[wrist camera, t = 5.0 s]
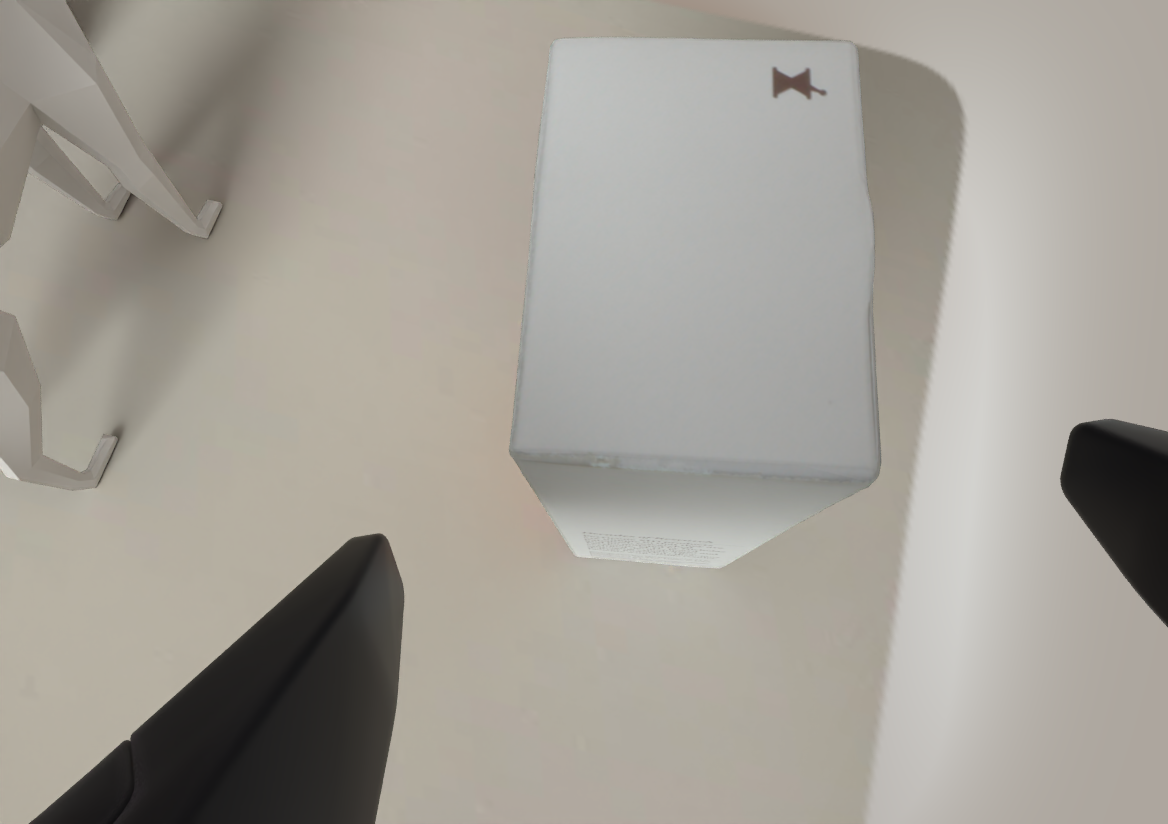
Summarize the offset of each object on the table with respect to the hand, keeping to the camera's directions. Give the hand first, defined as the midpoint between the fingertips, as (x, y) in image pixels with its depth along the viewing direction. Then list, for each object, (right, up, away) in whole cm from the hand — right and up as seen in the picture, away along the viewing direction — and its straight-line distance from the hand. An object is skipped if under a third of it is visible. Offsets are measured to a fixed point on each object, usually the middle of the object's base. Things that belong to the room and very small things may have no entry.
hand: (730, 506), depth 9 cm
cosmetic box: (0, 0, +11) cm, 11 cm away
